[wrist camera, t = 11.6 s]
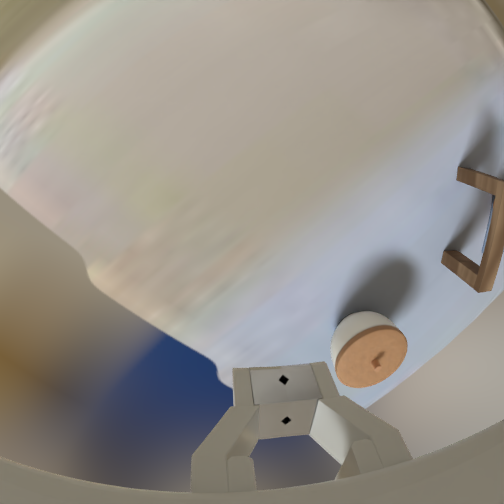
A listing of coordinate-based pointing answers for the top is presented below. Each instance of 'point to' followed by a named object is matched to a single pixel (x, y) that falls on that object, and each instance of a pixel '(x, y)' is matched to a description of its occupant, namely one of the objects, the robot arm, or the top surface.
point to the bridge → (498, 239)
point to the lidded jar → (366, 349)
